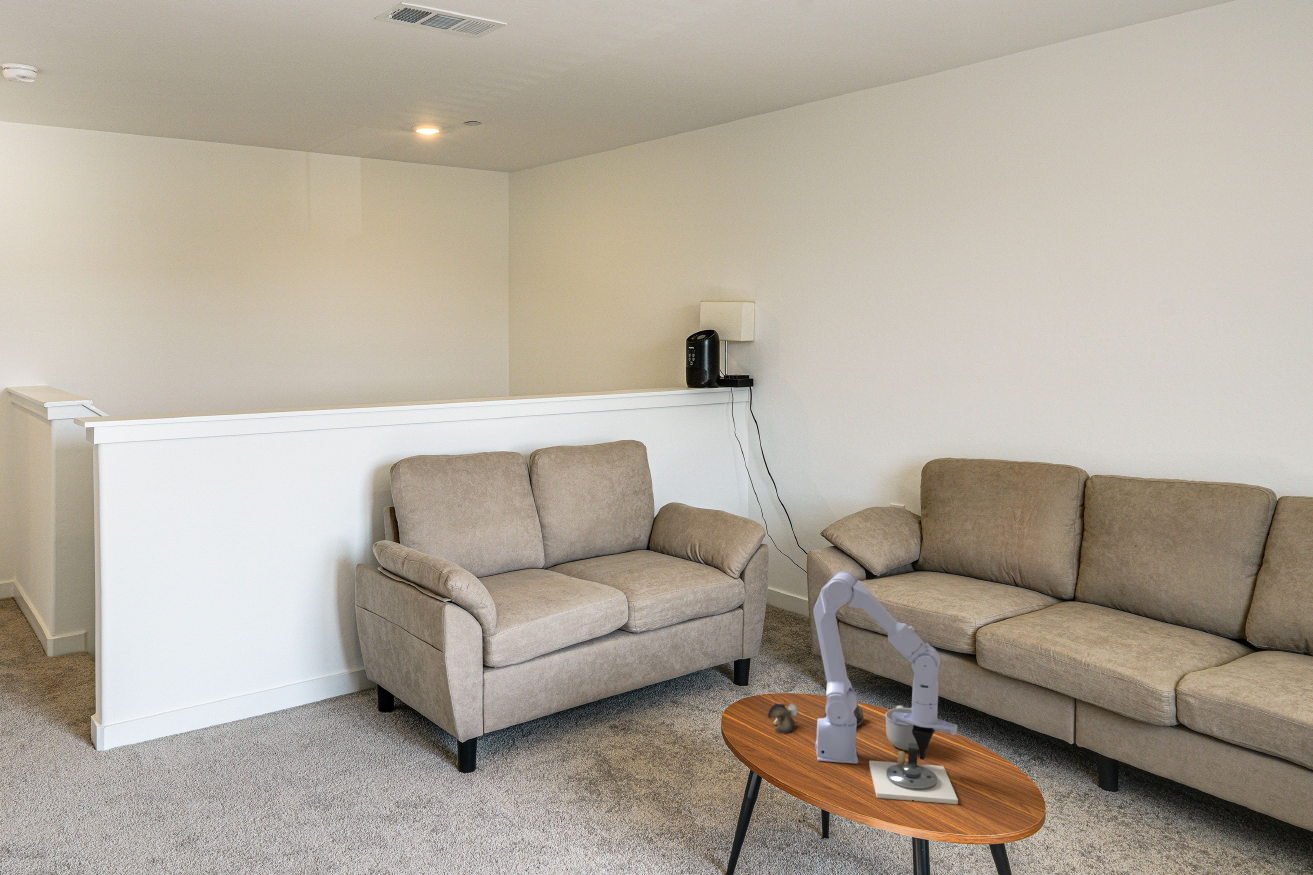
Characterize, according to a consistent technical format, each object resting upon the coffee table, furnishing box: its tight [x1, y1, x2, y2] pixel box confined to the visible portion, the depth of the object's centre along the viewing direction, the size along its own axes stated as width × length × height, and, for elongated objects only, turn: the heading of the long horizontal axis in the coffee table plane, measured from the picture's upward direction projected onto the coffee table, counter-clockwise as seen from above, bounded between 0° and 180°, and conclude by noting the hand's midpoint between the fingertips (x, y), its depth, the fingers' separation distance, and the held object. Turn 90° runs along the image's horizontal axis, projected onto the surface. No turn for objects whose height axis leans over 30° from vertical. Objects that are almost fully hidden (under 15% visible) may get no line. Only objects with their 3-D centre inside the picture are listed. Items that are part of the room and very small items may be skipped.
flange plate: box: [886, 743, 937, 789], centre depth 208 cm, size 15×11×4 cm
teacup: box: [884, 705, 919, 752], centre depth 229 cm, size 14×11×8 cm
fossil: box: [823, 701, 865, 728], centre depth 242 cm, size 11×9×10 cm
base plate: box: [868, 750, 959, 805], centre depth 206 cm, size 17×17×4 cm
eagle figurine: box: [766, 701, 798, 735], centre depth 238 cm, size 8×7×9 cm
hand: (922, 757), depth 213 cm, fingers closed
